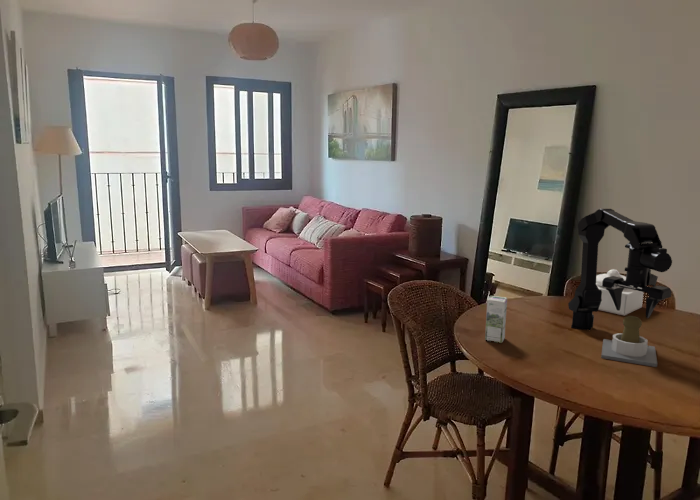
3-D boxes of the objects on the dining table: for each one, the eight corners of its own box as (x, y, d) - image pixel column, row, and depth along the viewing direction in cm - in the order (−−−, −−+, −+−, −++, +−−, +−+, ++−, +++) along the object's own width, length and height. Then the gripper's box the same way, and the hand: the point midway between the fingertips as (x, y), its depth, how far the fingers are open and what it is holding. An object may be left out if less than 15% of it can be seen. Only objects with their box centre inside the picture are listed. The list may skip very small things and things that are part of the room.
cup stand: (601, 358, 165) (602, 342, 164) (603, 341, 179) (604, 327, 178) (656, 367, 159) (658, 351, 158) (654, 349, 173) (656, 334, 172)
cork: (642, 354, 165) (646, 320, 163) (621, 353, 167) (625, 319, 165) (636, 347, 171) (640, 314, 169) (616, 346, 172) (619, 313, 170)
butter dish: (598, 298, 232) (602, 262, 229) (643, 307, 219) (647, 269, 216) (579, 306, 221) (583, 268, 218) (625, 316, 208) (629, 276, 205)
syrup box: (504, 338, 182) (507, 296, 179) (502, 343, 177) (504, 301, 174) (487, 335, 184) (490, 294, 182) (484, 341, 179) (486, 299, 176)
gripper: (683, 267, 161) (677, 317, 164) (623, 256, 176) (618, 302, 179) (664, 272, 155) (658, 324, 158) (603, 260, 170) (598, 308, 173)
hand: (632, 314), depth 167 cm, fingers open, 9 cm apart
